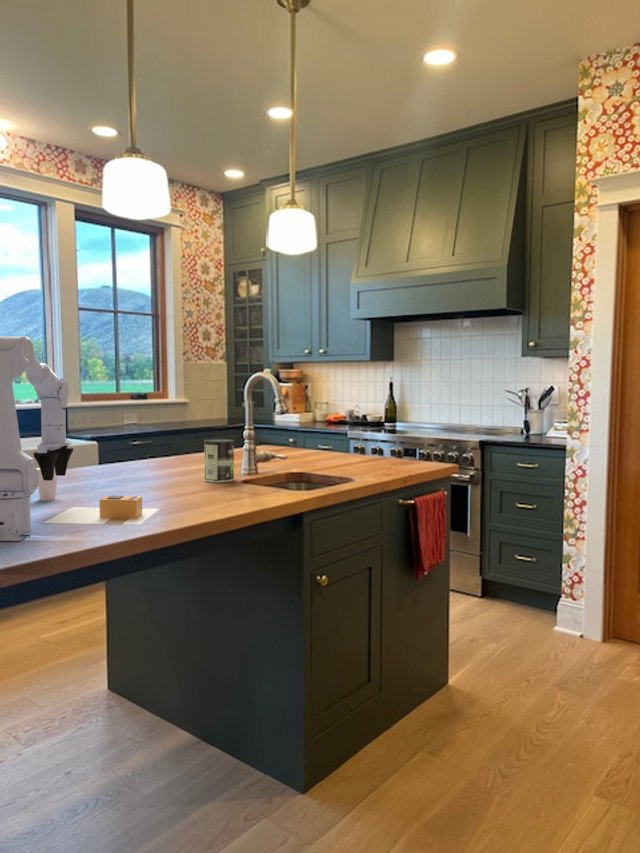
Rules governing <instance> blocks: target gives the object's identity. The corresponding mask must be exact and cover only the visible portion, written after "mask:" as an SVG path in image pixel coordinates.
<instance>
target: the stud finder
mask: <svg viewBox="0 0 640 853" xmlns="http://www.w3.org/2000/svg"><path fill="white" fill-rule="evenodd" d="M99 508H100V518H137V517H139V516H140V515H141V514H142V508H143V496H139V495H136V496H134V495H106V496H104V497H101V498H100V499H99Z"/></svg>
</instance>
